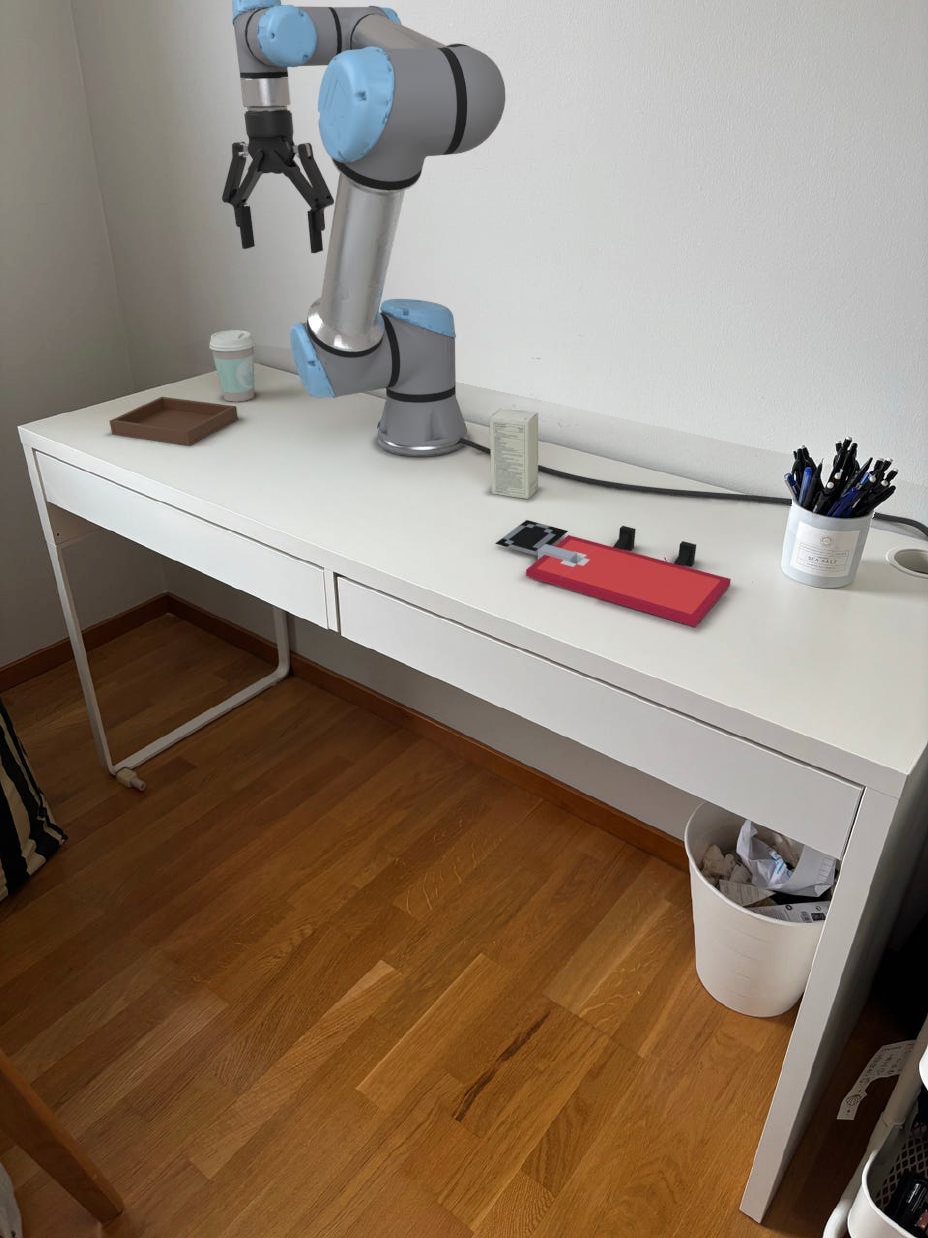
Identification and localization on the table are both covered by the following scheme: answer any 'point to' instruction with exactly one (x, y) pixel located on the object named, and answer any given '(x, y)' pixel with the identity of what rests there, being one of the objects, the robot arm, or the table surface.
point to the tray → (174, 420)
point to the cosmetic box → (514, 452)
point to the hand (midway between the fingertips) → (282, 249)
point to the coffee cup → (234, 363)
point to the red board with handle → (620, 572)
